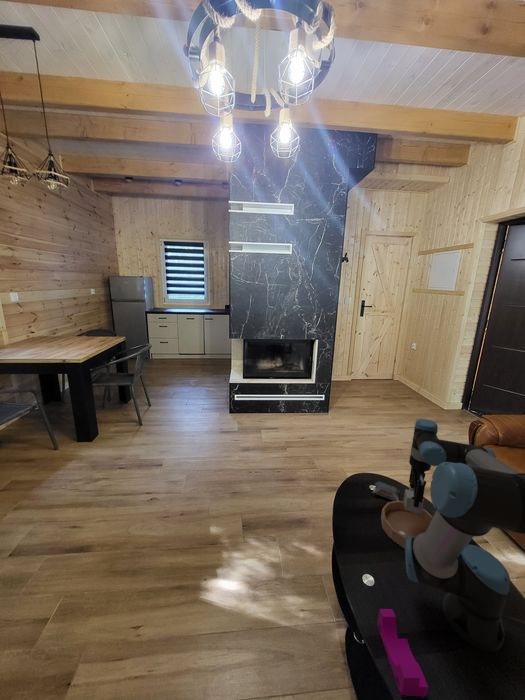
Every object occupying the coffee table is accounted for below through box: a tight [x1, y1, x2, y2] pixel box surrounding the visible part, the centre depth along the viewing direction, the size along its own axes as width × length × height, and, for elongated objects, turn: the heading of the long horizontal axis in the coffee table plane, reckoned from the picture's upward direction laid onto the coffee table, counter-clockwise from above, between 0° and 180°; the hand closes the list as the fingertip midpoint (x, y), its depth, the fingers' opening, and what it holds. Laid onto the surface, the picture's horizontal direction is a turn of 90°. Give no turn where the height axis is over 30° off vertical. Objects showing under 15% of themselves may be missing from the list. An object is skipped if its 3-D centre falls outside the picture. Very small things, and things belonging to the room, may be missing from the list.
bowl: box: [380, 500, 433, 550], centre depth 119 cm, size 22×22×5 cm
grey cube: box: [402, 489, 425, 514], centre depth 116 cm, size 5×6×6 cm
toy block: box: [376, 608, 429, 697], centre depth 76 cm, size 15×6×8 cm, turn 0°
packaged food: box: [371, 481, 401, 502], centre depth 138 cm, size 9×12×5 cm
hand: (412, 506), depth 117 cm, fingers closed on grey cube, 5 cm apart
